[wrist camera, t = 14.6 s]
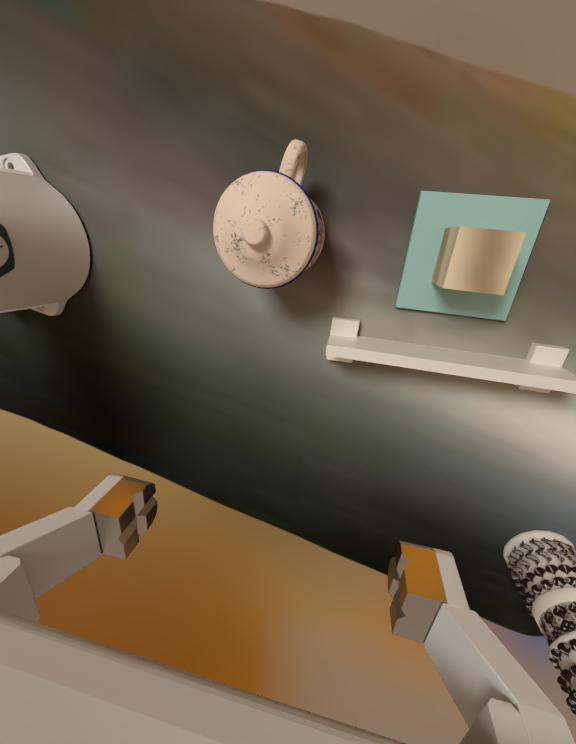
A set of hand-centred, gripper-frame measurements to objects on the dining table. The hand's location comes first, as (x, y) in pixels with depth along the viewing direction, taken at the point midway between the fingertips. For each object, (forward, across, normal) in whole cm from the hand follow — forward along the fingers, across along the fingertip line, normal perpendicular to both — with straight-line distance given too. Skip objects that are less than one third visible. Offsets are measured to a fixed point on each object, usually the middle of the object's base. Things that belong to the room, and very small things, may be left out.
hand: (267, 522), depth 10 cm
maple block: (+28, -12, -8) cm, 32 cm away
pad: (+29, -12, -8) cm, 32 cm away
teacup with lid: (+29, +6, -10) cm, 32 cm away
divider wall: (+29, -12, +2) cm, 32 cm away
